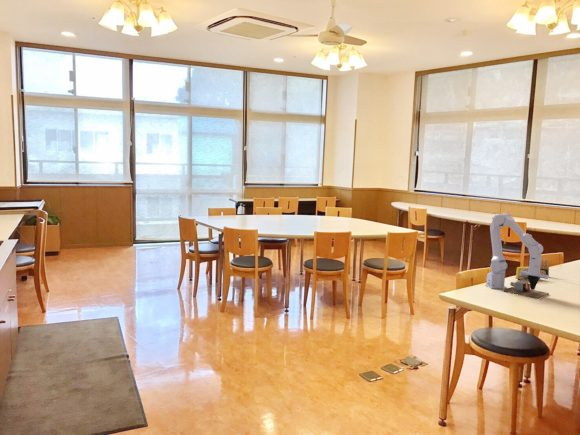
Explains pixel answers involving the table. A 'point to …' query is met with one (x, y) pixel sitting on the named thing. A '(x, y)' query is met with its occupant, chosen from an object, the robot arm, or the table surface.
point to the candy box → (518, 275)
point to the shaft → (526, 286)
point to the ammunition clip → (544, 267)
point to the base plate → (527, 293)
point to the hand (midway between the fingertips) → (532, 289)
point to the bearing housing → (520, 286)
